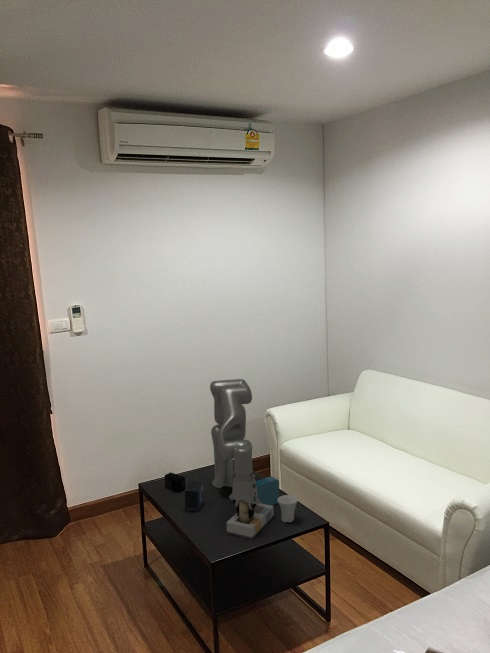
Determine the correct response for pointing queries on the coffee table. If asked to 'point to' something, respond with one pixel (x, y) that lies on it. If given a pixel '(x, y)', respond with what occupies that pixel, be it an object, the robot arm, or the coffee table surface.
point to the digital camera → (175, 482)
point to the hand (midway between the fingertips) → (245, 515)
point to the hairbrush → (226, 491)
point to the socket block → (257, 523)
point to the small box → (194, 496)
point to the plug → (244, 512)
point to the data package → (268, 490)
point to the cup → (287, 507)
